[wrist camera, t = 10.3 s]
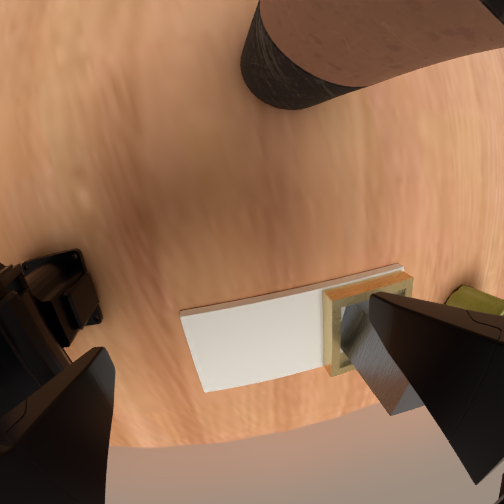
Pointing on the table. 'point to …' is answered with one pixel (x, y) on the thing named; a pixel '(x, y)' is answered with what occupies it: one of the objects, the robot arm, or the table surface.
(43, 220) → the table surface
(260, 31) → the travel mug
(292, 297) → the door board
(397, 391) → the block
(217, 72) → the table surface
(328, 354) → the frame
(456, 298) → the plant pot
